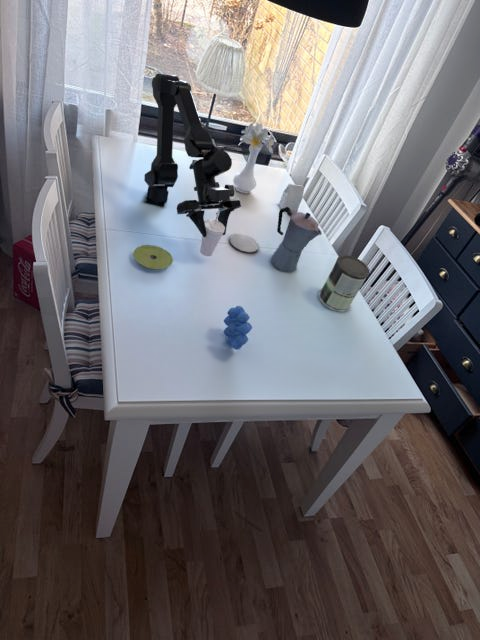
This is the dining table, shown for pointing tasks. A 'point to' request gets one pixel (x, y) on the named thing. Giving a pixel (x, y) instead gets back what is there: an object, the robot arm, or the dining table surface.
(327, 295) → the coffee can
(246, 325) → the grapes
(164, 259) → the green grainy disc
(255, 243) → the disc
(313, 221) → the moka pot
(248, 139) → the flower vase
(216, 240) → the smoothie
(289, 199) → the white carton
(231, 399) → the dining table surface
